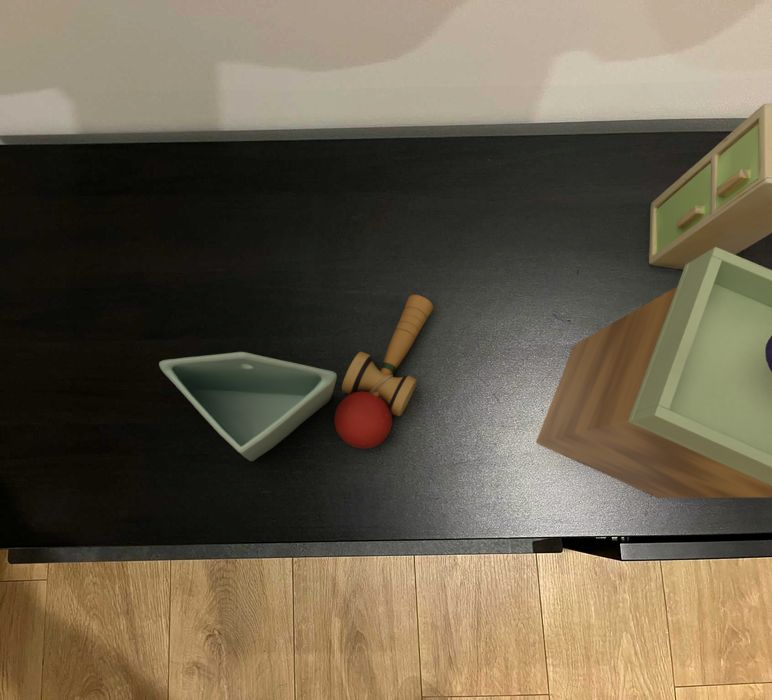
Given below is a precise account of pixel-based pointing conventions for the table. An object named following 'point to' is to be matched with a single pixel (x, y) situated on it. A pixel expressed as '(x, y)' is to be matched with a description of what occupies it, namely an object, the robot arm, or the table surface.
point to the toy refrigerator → (718, 198)
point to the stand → (612, 411)
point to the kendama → (380, 384)
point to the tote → (714, 366)
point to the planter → (251, 395)
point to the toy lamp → (769, 353)
